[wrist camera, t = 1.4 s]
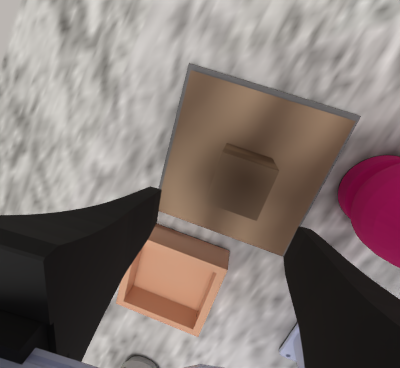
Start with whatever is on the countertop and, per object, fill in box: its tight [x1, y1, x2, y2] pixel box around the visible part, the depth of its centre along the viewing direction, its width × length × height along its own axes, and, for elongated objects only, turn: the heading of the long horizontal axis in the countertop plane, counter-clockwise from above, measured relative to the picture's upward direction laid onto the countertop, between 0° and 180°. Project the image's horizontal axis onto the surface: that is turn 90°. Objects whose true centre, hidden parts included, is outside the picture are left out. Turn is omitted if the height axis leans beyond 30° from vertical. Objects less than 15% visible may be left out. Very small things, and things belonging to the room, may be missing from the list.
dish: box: [116, 224, 230, 337], centre depth 24 cm, size 10×10×3 cm
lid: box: [159, 70, 356, 256], centre depth 18 cm, size 13×13×5 cm
